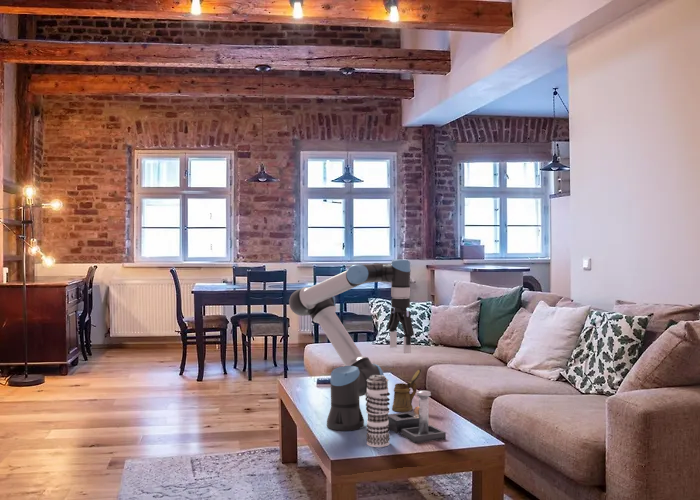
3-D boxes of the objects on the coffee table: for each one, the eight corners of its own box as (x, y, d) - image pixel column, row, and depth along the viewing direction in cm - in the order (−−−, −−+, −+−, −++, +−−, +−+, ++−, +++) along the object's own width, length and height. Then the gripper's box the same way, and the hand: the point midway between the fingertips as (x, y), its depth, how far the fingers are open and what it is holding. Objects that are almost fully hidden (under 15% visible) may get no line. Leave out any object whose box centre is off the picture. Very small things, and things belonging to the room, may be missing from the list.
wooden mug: (424, 411, 286) (423, 370, 286) (393, 412, 285) (393, 371, 285) (420, 406, 295) (419, 366, 295) (390, 407, 293) (390, 367, 293)
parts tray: (415, 443, 240) (415, 436, 240) (401, 435, 250) (401, 429, 250) (445, 439, 245) (445, 432, 245) (431, 431, 255) (431, 425, 255)
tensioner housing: (396, 433, 253) (396, 413, 253) (385, 427, 262) (385, 407, 262) (430, 429, 258) (430, 409, 258) (418, 422, 267) (417, 403, 267)
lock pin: (420, 437, 244) (421, 393, 244) (414, 433, 249) (414, 391, 249) (432, 436, 246) (433, 392, 246) (426, 432, 251) (426, 390, 251)
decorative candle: (389, 439, 245) (388, 373, 245) (391, 447, 236) (391, 378, 235) (365, 440, 245) (364, 373, 244) (366, 447, 235) (365, 378, 235)
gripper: (422, 300, 252) (422, 354, 252) (396, 294, 275) (395, 344, 276) (405, 300, 249) (404, 356, 250) (380, 295, 273) (379, 345, 273)
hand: (400, 350), depth 263 cm, fingers open, 13 cm apart
